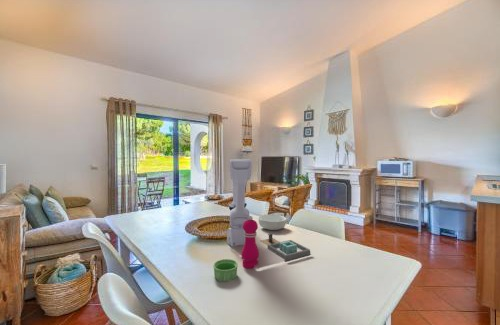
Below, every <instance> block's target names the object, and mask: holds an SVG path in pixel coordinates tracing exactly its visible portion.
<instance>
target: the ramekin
mask: <svg viewBox="0 0 500 325" xmlns="http://www.w3.org/2000/svg"><path fill="white" fill-rule="evenodd" d="M238 267H239V264H238V262H237V261H236V260H234V259H231V258H225V259H220V260H219V259H218V260H217V261H215V262H214V263H213V266H212V268H213V272H214V273H213V274H214V278H215V279H216V280H217V281H219V282H230V281H233V280H235V279H236V278H237V272H238Z"/></svg>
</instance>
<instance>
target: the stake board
mask: <svg viewBox="0 0 500 325" xmlns="http://www.w3.org/2000/svg"><path fill="white" fill-rule="evenodd" d="M273 235H274V233H268V234H267V236H268V238H266V239H260V240H259V242H261V243H263V244H264V245H266V246H267V247H268V245H270V244H274V243H279V242H280V241H279V240H277V239H275V237H274V238H273Z"/></svg>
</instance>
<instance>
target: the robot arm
mask: <svg viewBox="0 0 500 325" xmlns="http://www.w3.org/2000/svg"><path fill="white" fill-rule="evenodd" d="M252 164H253V162H252V159H250V158H249V159H247V158H245V159H243V158H242V159H234V158H233V159H232V158H231V159H230V160H229V171H230V172H229V174H230V177H229V178H230V179H231V180H232V202H231V203H230V204H229V206H228V209H229V210H230V211H229V226H230V227H228V228H227V230H226V242H227V243H226V244H227V245H228V246H230V248H232V247H236V246H244V245H245V236H244V232H245V231H244V229H243V223H244V222H245V221H246V220H248V217H249V216H251V215H250V210H249V209H247V203H246V185H247V182H248V181H249V180H251V177H252V168H253V166H252Z"/></svg>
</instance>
